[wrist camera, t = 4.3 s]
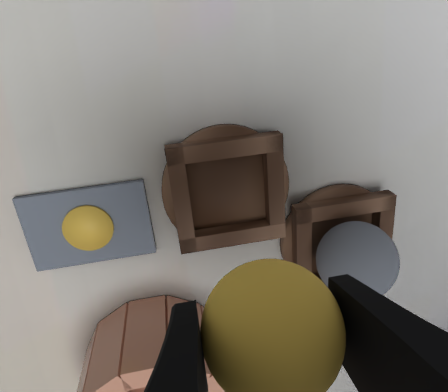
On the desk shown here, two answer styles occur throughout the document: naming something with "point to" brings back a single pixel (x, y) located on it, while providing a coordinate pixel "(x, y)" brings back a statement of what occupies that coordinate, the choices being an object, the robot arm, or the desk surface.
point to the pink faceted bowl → (130, 347)
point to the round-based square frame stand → (226, 187)
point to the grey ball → (359, 255)
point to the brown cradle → (332, 219)
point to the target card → (86, 224)
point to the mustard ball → (272, 330)
